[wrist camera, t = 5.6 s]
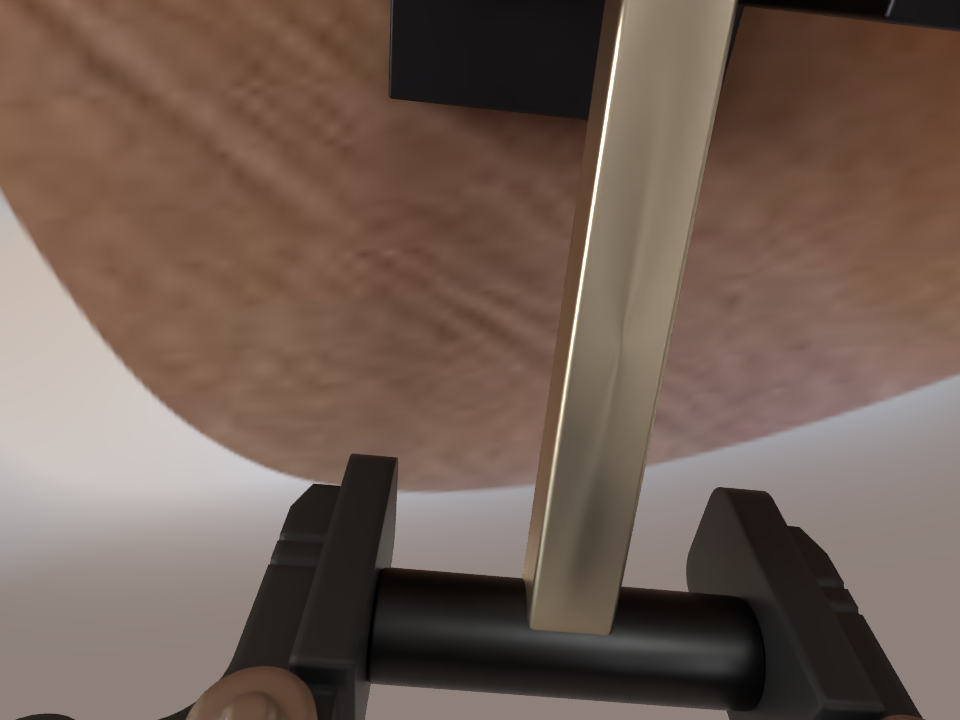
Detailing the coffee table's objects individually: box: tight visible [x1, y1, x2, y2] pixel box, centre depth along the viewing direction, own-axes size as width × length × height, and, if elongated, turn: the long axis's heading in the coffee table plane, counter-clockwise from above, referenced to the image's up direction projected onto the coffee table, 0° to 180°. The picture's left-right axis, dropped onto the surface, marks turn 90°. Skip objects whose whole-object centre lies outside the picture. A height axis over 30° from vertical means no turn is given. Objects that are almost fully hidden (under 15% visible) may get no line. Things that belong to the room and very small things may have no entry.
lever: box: [366, 0, 765, 712], centre depth 7 cm, size 12×5×2 cm, turn 174°
